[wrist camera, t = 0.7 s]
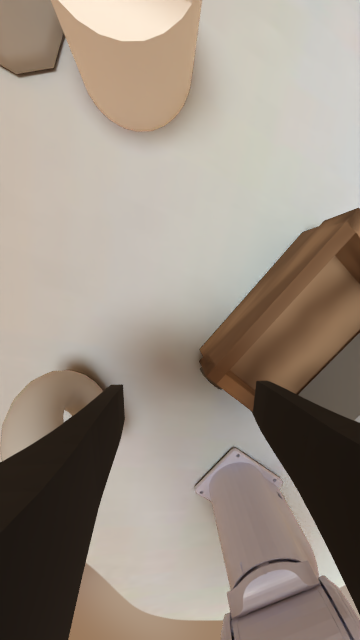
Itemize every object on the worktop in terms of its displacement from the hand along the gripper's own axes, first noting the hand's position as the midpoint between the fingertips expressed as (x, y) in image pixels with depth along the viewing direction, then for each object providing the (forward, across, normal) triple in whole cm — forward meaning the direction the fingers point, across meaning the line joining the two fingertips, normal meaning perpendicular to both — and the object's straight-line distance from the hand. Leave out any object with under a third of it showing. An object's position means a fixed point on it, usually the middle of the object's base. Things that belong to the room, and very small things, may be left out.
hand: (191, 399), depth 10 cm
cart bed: (+10, -12, -1) cm, 16 cm away
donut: (+10, +9, +6) cm, 15 cm away
